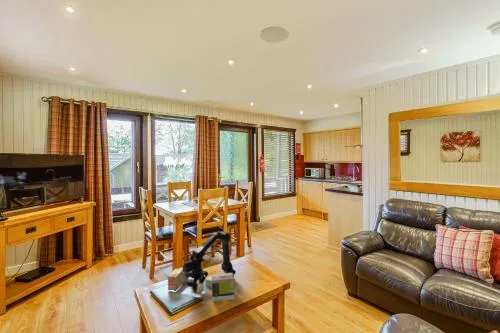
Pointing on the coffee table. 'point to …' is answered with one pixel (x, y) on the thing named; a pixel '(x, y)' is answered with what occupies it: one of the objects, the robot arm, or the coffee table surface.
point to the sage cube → (209, 281)
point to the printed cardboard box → (176, 279)
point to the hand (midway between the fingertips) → (197, 290)
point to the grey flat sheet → (205, 289)
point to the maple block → (198, 288)
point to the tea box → (222, 287)
